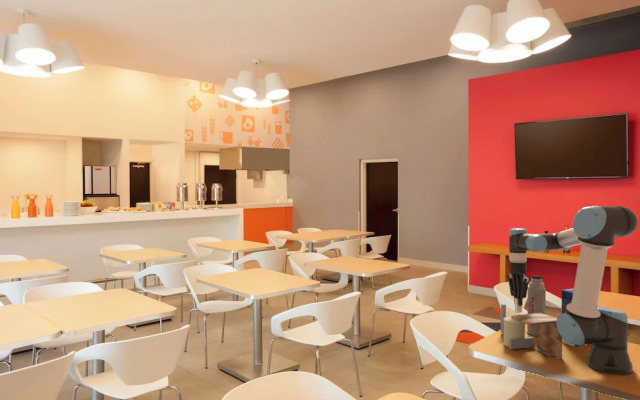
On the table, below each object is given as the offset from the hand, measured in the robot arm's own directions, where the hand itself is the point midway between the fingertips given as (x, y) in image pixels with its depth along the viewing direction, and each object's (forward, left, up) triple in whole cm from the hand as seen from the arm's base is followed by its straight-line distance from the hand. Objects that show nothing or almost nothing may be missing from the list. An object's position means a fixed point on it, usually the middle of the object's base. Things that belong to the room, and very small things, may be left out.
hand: (518, 312), depth 217 cm
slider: (-1, +7, -12) cm, 14 cm away
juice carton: (-12, -23, -13) cm, 29 cm away
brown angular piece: (-9, +7, -13) cm, 17 cm away
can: (-6, +7, -13) cm, 16 cm away
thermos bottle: (+5, -15, -13) cm, 20 cm away
